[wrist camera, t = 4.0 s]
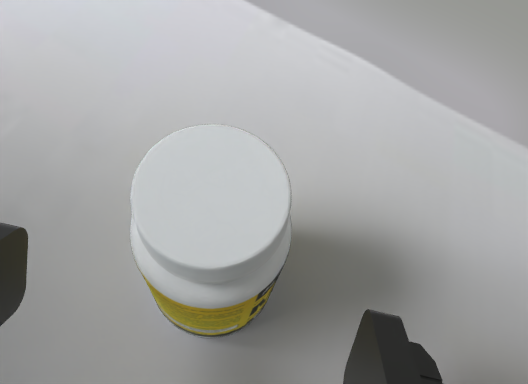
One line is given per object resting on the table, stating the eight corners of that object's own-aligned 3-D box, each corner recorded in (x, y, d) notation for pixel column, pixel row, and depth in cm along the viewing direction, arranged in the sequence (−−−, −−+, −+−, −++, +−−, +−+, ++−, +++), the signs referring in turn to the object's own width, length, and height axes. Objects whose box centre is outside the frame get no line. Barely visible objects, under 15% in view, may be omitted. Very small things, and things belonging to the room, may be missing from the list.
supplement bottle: (264, 346, 18) (299, 301, 10) (142, 331, 18) (87, 274, 10) (276, 230, 20) (312, 123, 13) (166, 216, 20) (136, 97, 12)
